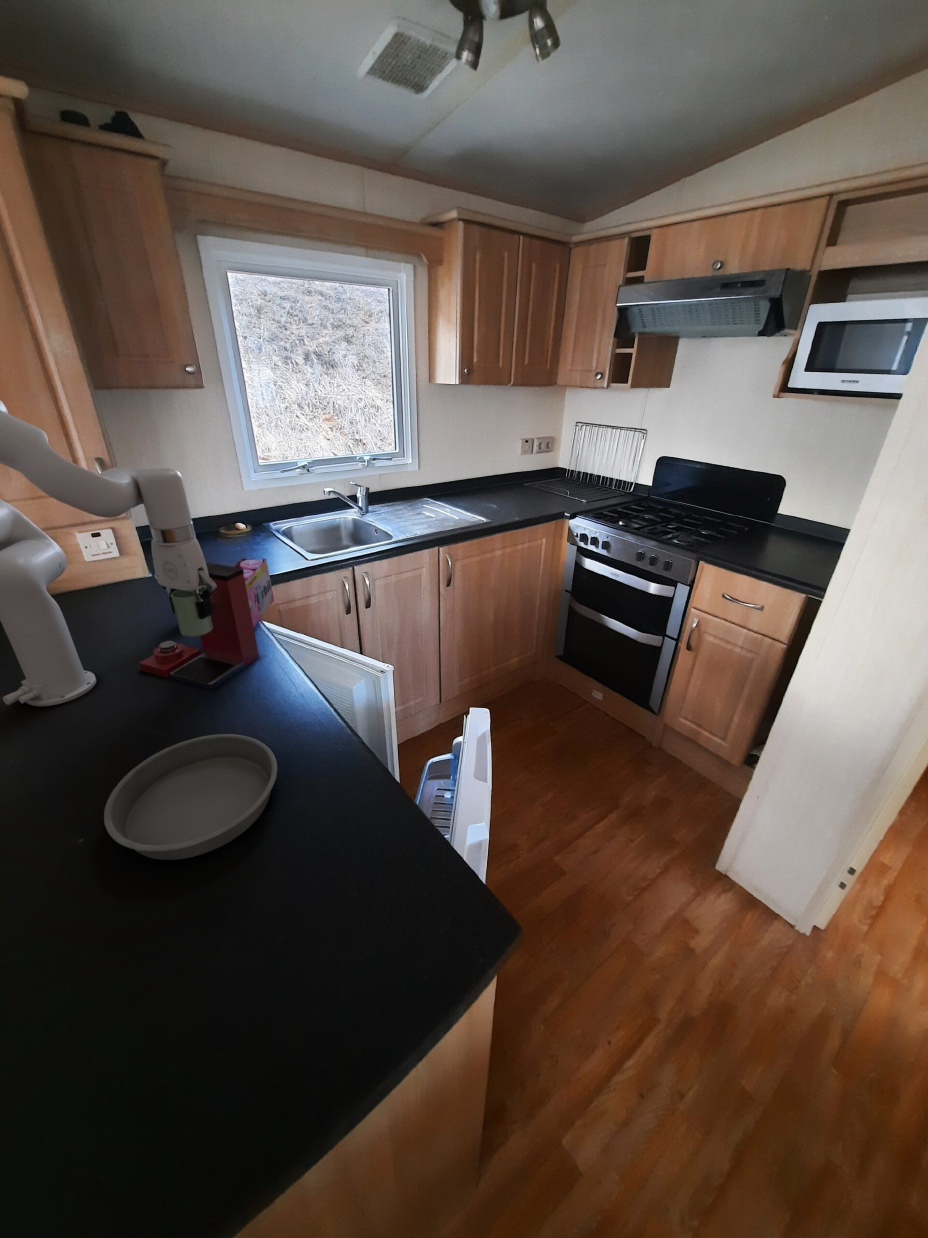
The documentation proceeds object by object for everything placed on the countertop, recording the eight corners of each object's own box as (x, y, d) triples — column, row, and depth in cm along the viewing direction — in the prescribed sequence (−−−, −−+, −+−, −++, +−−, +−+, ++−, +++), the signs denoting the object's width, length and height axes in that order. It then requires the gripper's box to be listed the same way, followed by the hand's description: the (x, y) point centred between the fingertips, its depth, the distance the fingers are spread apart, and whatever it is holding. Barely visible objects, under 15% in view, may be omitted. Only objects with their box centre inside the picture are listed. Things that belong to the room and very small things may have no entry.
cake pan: (168, 750, 94) (162, 731, 92) (300, 755, 93) (297, 735, 91) (72, 868, 72) (61, 845, 70) (244, 875, 71) (238, 852, 69)
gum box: (250, 598, 155) (242, 556, 149) (276, 598, 155) (269, 556, 149) (218, 635, 133) (208, 588, 127) (249, 635, 134) (240, 588, 128)
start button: (168, 655, 117) (166, 648, 116) (157, 652, 118) (155, 645, 117) (179, 648, 120) (177, 642, 119) (169, 646, 121) (167, 639, 120)
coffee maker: (212, 690, 111) (189, 593, 101) (170, 678, 115) (143, 584, 105) (260, 657, 124) (243, 568, 114) (220, 648, 128) (200, 561, 117)
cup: (196, 638, 107) (187, 600, 103) (173, 633, 109) (163, 595, 105) (219, 626, 112) (211, 588, 108) (197, 621, 114) (188, 584, 110)
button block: (167, 677, 115) (163, 662, 113) (141, 670, 118) (136, 656, 116) (201, 657, 124) (198, 642, 122) (176, 651, 126) (173, 636, 124)
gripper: (124, 533, 101) (148, 614, 109) (191, 543, 95) (211, 628, 103) (157, 523, 107) (176, 600, 115) (221, 533, 102) (237, 613, 110)
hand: (193, 613), depth 109 cm, fingers closed on cup, 6 cm apart
